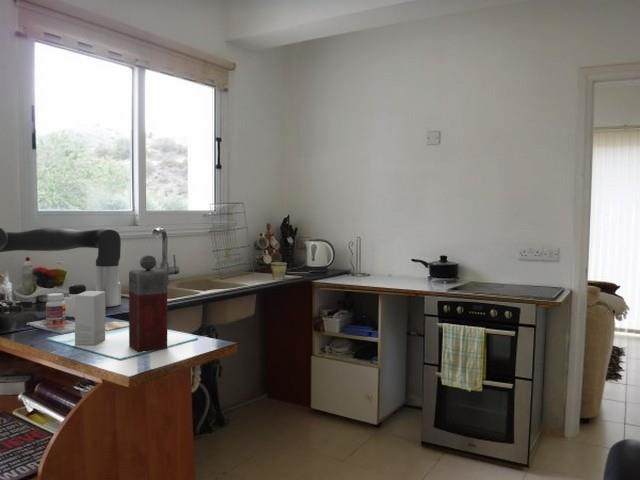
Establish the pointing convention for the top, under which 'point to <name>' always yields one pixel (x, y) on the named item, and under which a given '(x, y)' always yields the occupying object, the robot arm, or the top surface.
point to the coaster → (115, 325)
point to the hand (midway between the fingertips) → (27, 306)
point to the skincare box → (89, 317)
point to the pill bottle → (55, 310)
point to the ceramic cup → (278, 269)
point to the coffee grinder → (147, 307)
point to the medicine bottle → (73, 299)
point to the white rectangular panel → (58, 329)
